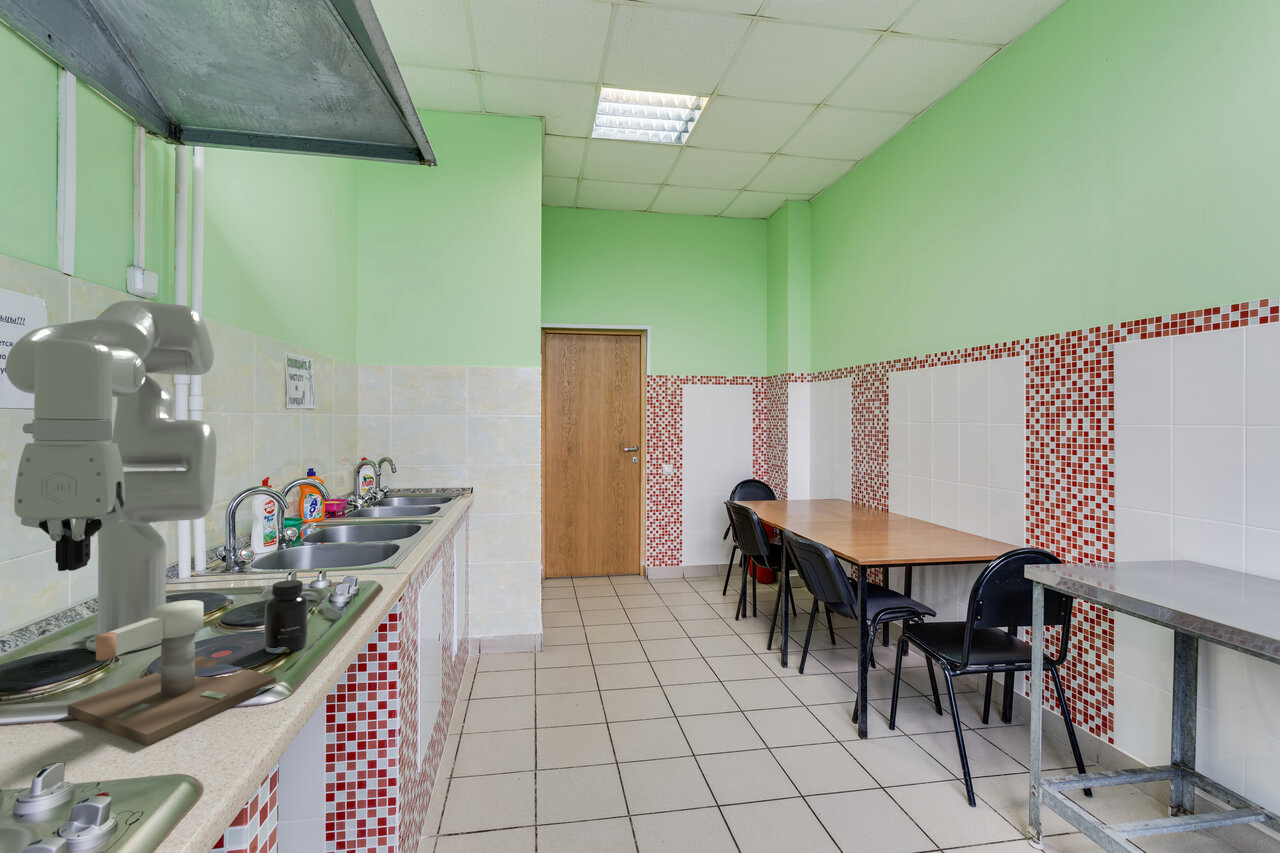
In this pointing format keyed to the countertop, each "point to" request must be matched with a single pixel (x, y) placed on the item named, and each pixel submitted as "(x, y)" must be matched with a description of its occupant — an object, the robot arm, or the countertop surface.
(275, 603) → the supplement bottle
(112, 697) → the base
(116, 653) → the cream orange-tipped lever
